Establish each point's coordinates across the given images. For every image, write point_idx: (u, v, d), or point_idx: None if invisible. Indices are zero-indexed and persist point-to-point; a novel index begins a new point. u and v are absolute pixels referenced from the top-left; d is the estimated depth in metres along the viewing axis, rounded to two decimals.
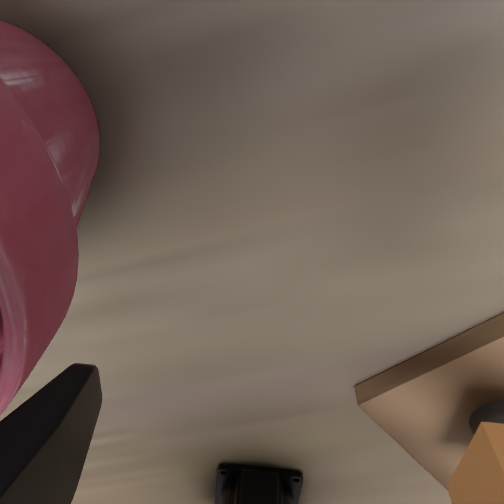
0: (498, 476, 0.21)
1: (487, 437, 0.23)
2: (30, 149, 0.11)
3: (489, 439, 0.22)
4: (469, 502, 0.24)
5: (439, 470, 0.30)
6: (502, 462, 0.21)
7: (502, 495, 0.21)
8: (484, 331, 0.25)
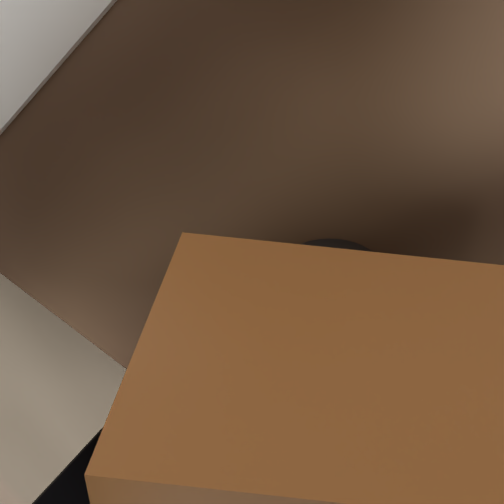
0: None
1: None
2: None
3: None
4: None
5: None
6: None
7: None
8: None
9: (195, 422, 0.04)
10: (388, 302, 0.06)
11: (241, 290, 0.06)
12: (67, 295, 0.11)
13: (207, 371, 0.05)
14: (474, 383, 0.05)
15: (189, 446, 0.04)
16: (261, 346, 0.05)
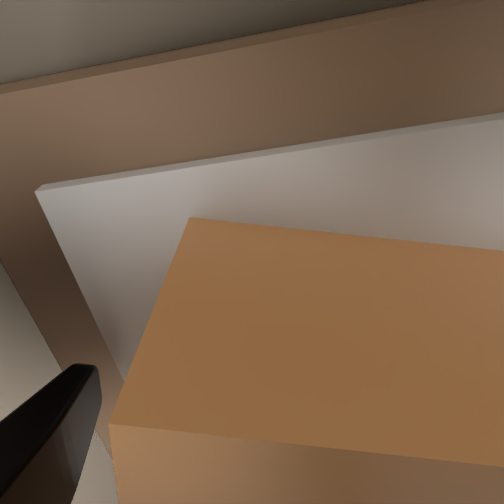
0: None
1: None
2: None
3: None
4: None
5: None
6: None
7: None
8: None
9: (206, 381, 0.04)
10: (383, 281, 0.06)
11: (245, 269, 0.06)
12: None
13: (216, 339, 0.05)
14: (461, 351, 0.05)
15: (201, 401, 0.04)
16: (265, 318, 0.05)
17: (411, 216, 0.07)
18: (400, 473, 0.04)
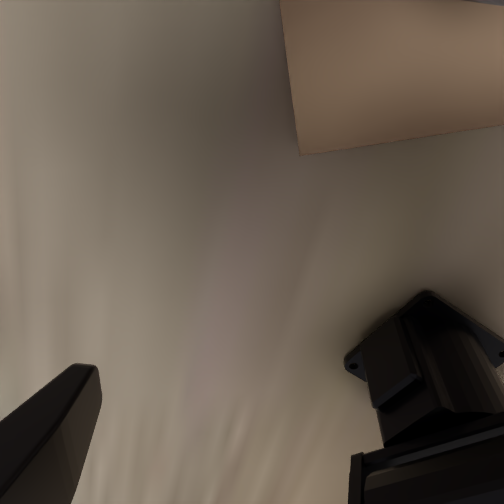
0: None
1: None
2: None
3: None
4: None
5: None
6: None
7: None
8: None
9: None
10: None
11: None
12: None
13: None
14: None
15: None
16: None
17: None
18: None
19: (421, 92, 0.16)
